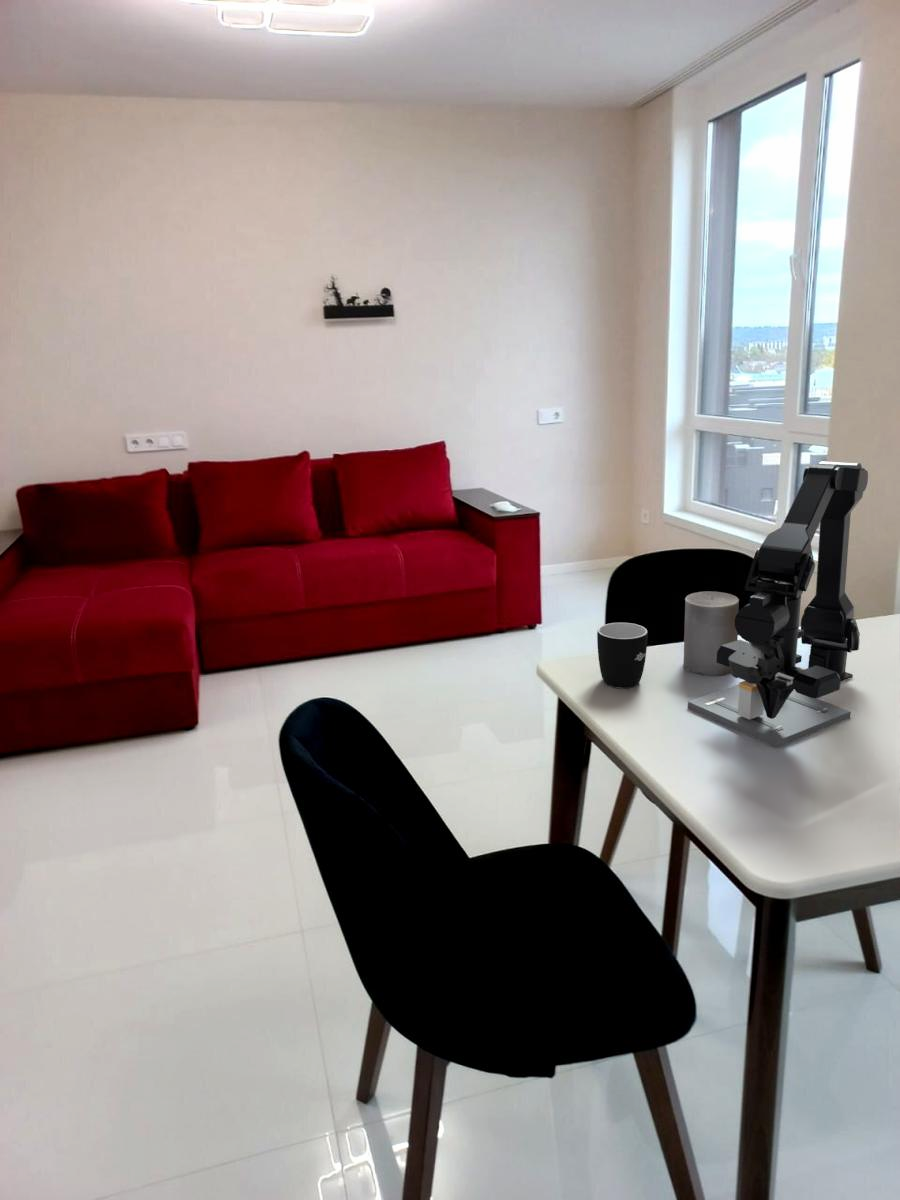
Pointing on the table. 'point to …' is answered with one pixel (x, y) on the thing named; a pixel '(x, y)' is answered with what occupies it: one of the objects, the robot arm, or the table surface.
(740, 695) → the fader
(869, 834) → the table surface
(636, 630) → the mug
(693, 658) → the pillar candle
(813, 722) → the console
